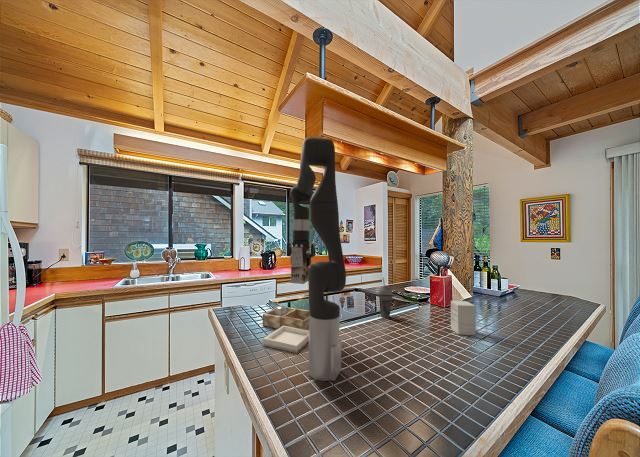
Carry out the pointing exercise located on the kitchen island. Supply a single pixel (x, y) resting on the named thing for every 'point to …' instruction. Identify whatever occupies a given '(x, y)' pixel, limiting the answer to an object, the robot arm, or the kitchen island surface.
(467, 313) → the supplement box
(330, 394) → the kitchen island surface
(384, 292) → the beverage cup
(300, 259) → the coffee box
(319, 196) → the robot arm
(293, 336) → the plastic tray
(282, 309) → the metal tin
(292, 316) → the wooden holder
